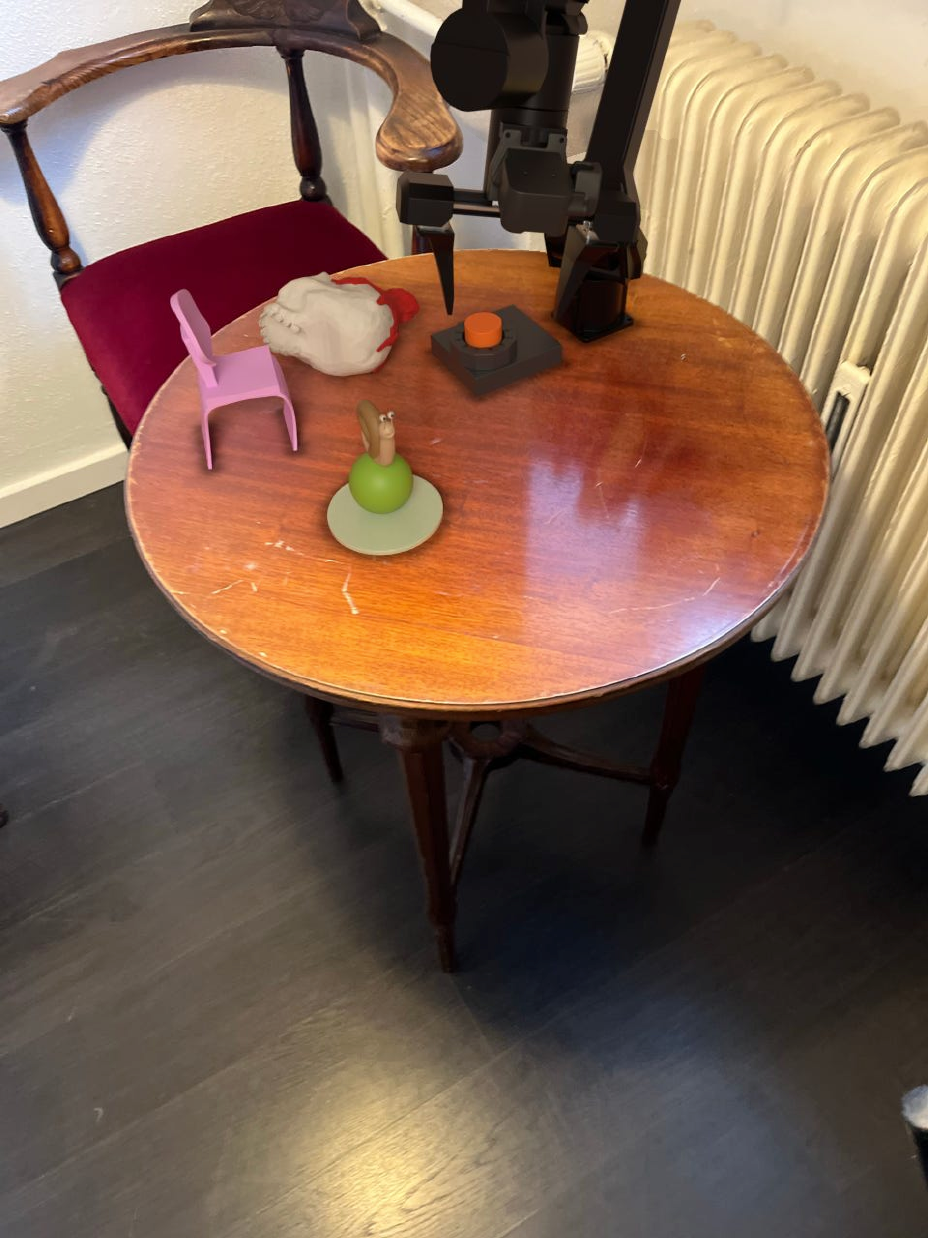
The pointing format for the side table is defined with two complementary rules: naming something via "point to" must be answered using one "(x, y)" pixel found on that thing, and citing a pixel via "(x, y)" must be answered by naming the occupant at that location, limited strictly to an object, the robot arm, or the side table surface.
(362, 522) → the coaster
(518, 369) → the button block
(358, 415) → the snail figurine
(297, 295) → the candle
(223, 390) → the toy chair
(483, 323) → the button
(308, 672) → the side table surface
